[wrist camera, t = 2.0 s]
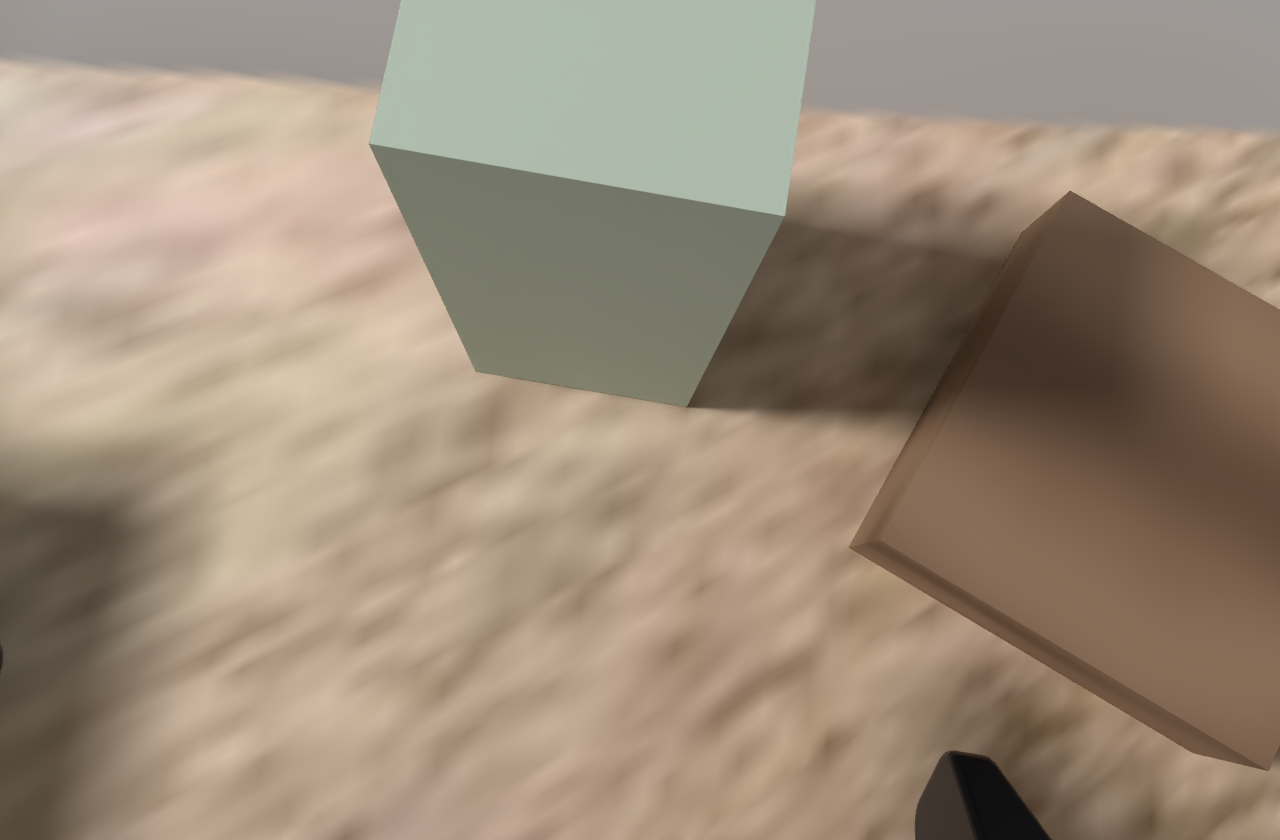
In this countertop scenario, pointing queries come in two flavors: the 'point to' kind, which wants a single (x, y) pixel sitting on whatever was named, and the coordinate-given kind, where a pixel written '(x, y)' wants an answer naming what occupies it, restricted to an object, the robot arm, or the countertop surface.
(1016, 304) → the walnut base block
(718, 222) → the sage pillar block
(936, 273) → the countertop surface
